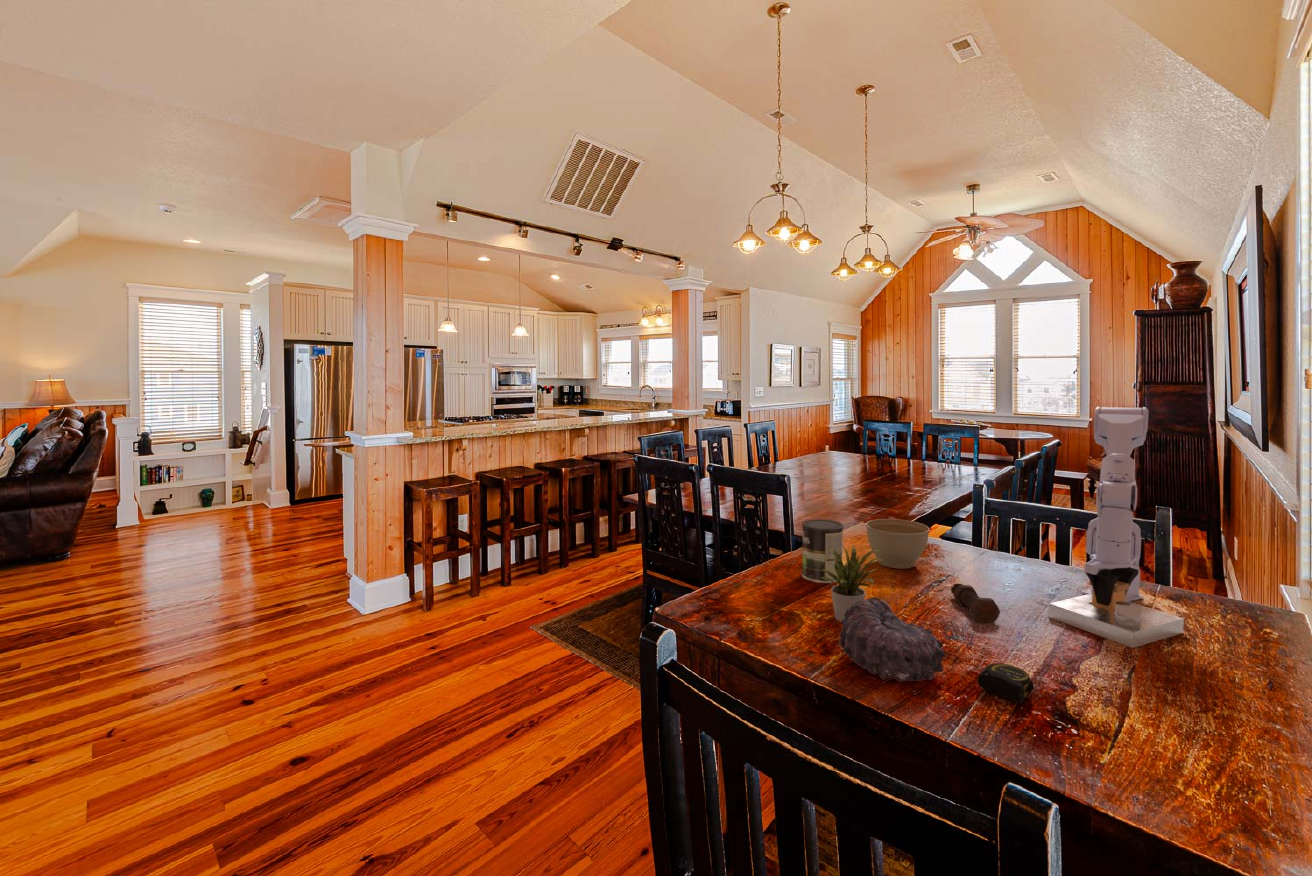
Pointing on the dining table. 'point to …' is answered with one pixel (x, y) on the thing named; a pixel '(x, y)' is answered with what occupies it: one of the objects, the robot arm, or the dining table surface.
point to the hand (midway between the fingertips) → (1109, 602)
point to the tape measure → (1006, 681)
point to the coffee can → (820, 548)
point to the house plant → (848, 581)
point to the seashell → (889, 643)
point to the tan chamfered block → (1113, 596)
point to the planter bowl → (897, 541)
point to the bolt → (976, 603)
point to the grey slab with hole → (1117, 620)
